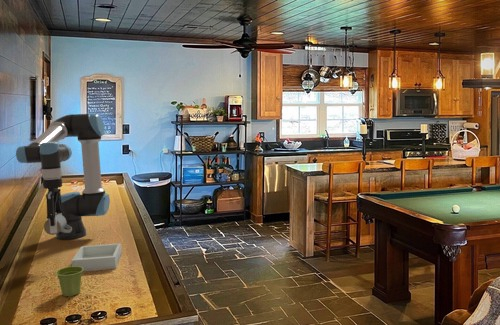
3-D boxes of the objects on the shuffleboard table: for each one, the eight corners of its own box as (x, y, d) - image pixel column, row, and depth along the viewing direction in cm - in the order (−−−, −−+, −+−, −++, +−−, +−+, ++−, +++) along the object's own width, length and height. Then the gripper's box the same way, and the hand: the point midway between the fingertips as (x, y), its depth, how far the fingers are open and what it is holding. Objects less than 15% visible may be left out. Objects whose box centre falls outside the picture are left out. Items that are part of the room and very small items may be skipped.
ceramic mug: (43, 236, 196) (41, 218, 195) (49, 231, 204) (48, 213, 203) (69, 234, 197) (68, 217, 196) (74, 229, 205) (73, 212, 204)
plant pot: (88, 288, 173) (86, 265, 172) (80, 298, 164) (78, 274, 163) (63, 289, 173) (61, 266, 172) (53, 299, 164) (51, 275, 163)
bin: (82, 257, 211) (81, 246, 211) (121, 253, 214) (120, 243, 213) (72, 272, 191) (71, 260, 191) (115, 268, 194) (115, 257, 193)
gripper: (49, 175, 207) (54, 225, 210) (35, 182, 187) (40, 237, 189) (67, 174, 208) (71, 224, 211) (54, 181, 188) (59, 236, 190)
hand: (56, 230), depth 200 cm, fingers closed on ceramic mug, 8 cm apart
